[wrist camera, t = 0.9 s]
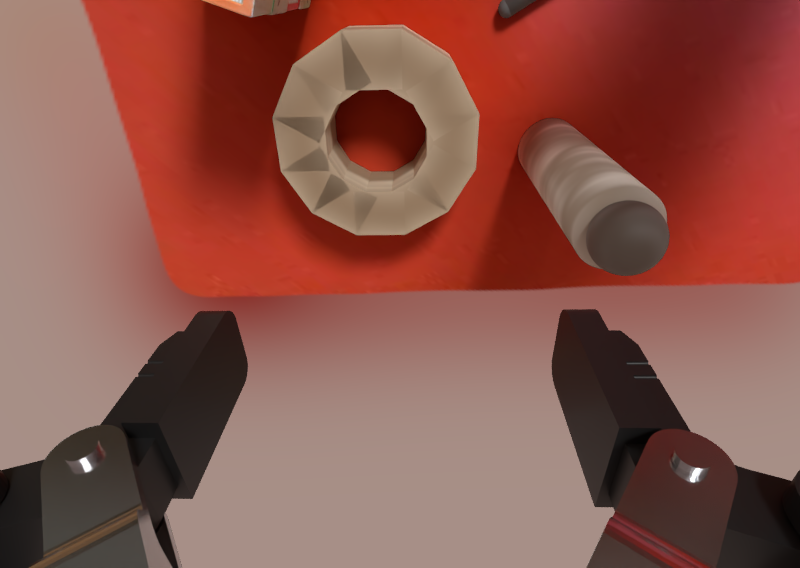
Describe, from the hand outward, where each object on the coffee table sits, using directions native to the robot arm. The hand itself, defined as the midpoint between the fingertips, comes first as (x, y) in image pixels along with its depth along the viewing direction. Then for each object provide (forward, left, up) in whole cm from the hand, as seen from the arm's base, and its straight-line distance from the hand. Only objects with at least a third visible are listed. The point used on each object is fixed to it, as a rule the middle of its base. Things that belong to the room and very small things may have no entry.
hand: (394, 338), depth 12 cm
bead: (+2, -1, -23) cm, 23 cm away
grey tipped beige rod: (-7, +6, -23) cm, 25 cm away
